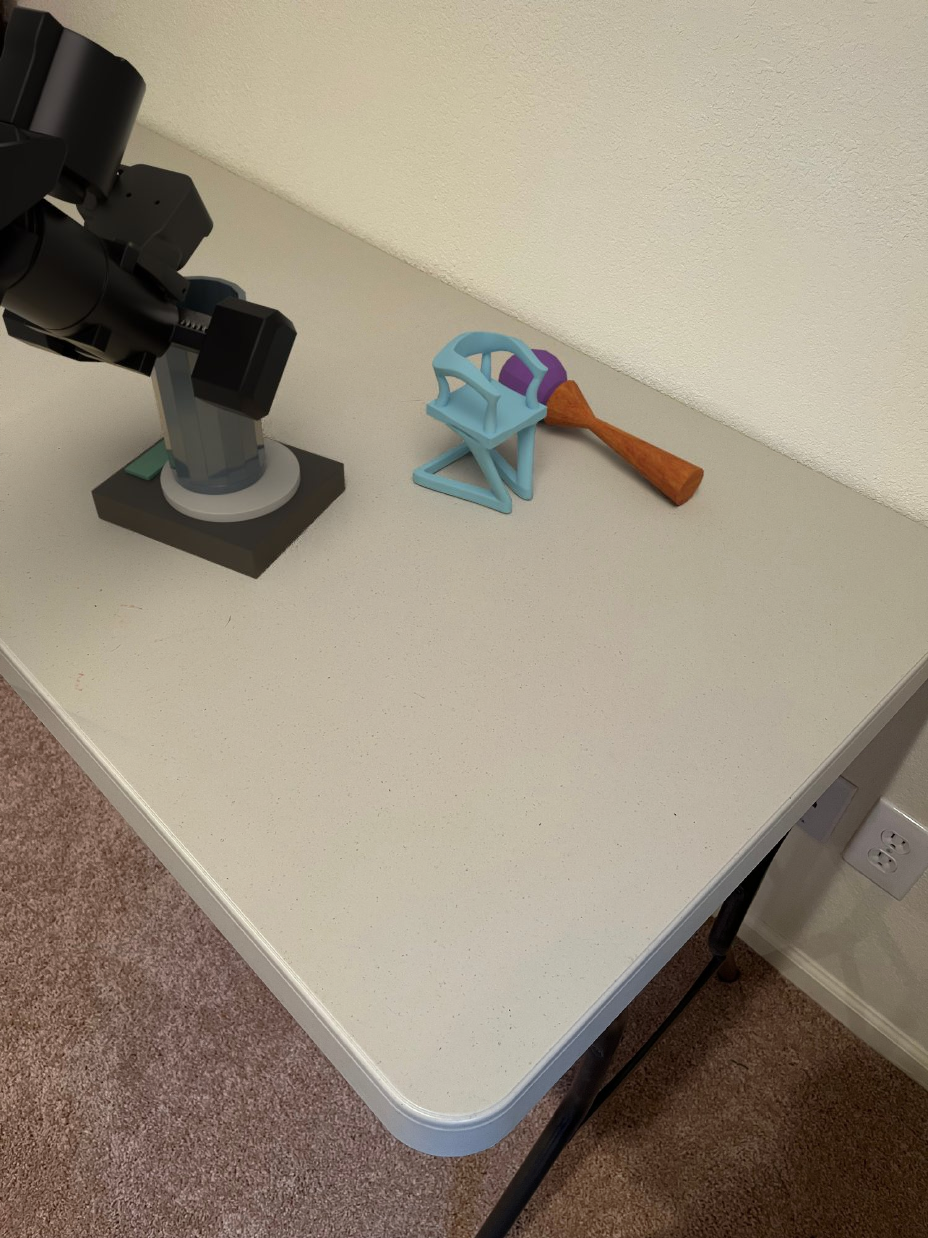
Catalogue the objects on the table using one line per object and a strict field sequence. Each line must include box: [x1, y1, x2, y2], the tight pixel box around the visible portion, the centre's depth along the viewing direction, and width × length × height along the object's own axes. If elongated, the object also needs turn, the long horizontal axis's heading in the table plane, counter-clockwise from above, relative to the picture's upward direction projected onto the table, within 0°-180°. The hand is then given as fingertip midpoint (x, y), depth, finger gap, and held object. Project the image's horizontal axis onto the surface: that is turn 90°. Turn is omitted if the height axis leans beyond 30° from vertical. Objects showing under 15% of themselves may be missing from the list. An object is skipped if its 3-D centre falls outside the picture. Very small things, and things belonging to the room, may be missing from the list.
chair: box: [412, 330, 548, 514], centre depth 69 cm, size 8×8×12 cm
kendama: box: [497, 348, 705, 506], centre depth 76 cm, size 6×6×20 cm
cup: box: [150, 275, 267, 495], centre depth 63 cm, size 7×7×13 cm
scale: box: [90, 436, 346, 579], centre depth 68 cm, size 14×12×3 cm
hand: (218, 373), depth 63 cm, fingers open, 9 cm apart
